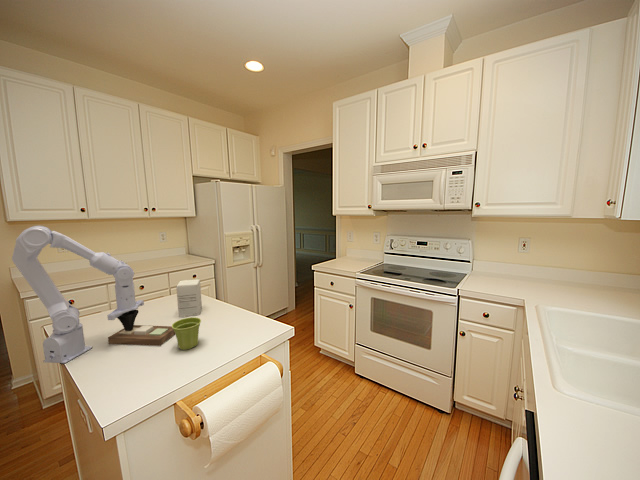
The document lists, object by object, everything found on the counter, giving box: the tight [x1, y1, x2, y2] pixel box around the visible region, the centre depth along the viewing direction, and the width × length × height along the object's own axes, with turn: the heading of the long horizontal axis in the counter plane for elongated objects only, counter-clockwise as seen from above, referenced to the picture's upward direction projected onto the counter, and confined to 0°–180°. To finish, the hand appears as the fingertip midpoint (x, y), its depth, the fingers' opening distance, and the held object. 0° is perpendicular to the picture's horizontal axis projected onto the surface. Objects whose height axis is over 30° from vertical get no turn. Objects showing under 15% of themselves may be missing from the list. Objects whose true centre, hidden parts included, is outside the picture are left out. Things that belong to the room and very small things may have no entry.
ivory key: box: [134, 325, 154, 335], centre depth 98 cm, size 4×4×2 cm
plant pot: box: [171, 316, 202, 351], centre depth 92 cm, size 9×9×9 cm
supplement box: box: [175, 278, 203, 318], centre depth 121 cm, size 9×9×15 cm
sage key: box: [149, 328, 168, 336], centre depth 98 cm, size 4×4×2 cm
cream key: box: [119, 328, 138, 335], centre depth 99 cm, size 4×4×2 cm
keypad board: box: [107, 324, 176, 347], centre depth 98 cm, size 10×20×2 cm, turn 85°
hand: (129, 330), depth 99 cm, fingers closed
